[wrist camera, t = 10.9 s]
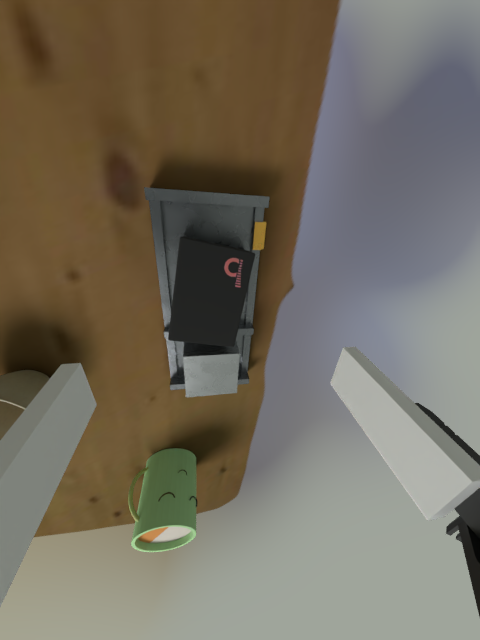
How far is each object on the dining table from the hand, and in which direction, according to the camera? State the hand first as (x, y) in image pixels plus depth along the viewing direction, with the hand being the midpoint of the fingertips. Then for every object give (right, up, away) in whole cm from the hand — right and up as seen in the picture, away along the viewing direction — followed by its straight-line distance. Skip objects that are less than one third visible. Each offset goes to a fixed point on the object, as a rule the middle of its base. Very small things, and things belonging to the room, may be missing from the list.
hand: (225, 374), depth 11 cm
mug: (-14, -26, +34) cm, 46 cm away
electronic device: (-3, +7, +16) cm, 18 cm away
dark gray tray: (-3, +5, +18) cm, 19 cm away
